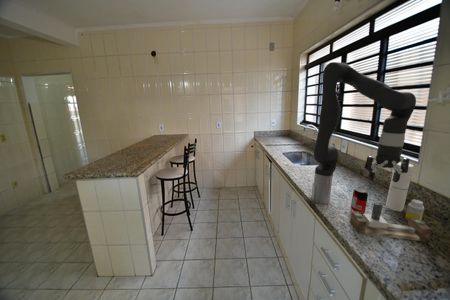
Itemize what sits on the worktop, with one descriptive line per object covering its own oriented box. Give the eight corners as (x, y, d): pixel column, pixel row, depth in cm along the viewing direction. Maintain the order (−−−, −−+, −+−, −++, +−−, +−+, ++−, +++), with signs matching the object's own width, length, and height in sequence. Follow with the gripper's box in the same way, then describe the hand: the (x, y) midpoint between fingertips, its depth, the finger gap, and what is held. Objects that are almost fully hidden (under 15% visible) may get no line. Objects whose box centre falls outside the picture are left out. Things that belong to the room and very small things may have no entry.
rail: (356, 232, 84) (359, 220, 83) (349, 221, 92) (351, 210, 90) (427, 241, 78) (431, 228, 77) (414, 229, 86) (417, 217, 84)
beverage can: (365, 215, 97) (369, 194, 94) (350, 211, 100) (354, 191, 97) (364, 209, 102) (367, 189, 99) (350, 206, 105) (353, 186, 102)
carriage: (368, 226, 84) (372, 207, 81) (362, 218, 89) (365, 200, 87) (387, 228, 82) (391, 208, 80) (379, 220, 88) (383, 201, 85)
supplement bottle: (411, 216, 95) (416, 198, 93) (423, 223, 90) (429, 204, 88) (401, 217, 95) (406, 198, 92) (413, 224, 90) (418, 204, 87)
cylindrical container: (396, 212, 99) (407, 167, 93) (382, 205, 106) (391, 162, 99) (406, 210, 101) (417, 165, 95) (391, 203, 108) (401, 161, 101)
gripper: (375, 144, 75) (367, 182, 79) (418, 146, 71) (408, 185, 75) (366, 141, 82) (360, 176, 86) (405, 142, 78) (397, 178, 82)
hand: (382, 180), depth 80 cm, fingers open, 8 cm apart
